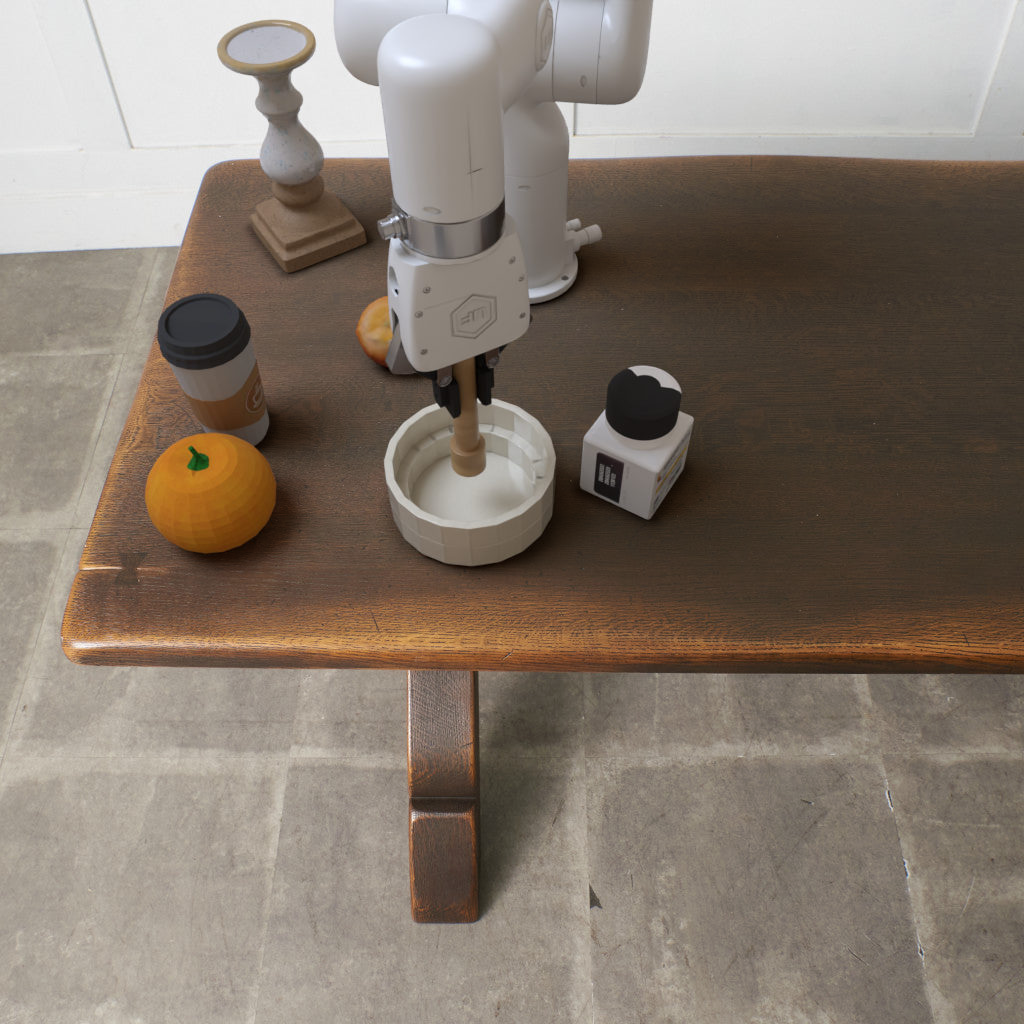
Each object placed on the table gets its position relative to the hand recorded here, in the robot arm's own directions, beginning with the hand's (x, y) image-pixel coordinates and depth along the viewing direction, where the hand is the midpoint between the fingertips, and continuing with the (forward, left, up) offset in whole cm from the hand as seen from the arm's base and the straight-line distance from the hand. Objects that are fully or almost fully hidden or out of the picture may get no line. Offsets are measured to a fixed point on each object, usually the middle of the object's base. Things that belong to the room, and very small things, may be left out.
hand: (464, 399), depth 79 cm
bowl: (0, 0, -15) cm, 15 cm away
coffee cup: (+17, -20, -15) cm, 30 cm away
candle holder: (-1, -47, -15) cm, 49 cm away
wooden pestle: (0, 0, -9) cm, 9 cm away
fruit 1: (+22, -10, -15) cm, 28 cm away
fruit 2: (-2, -22, -15) cm, 27 cm away
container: (-15, +5, -15) cm, 22 cm away
